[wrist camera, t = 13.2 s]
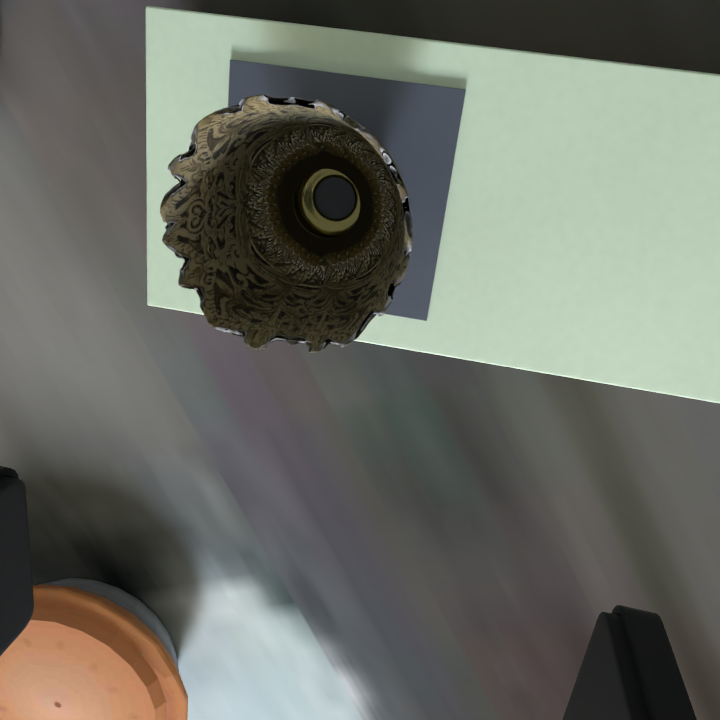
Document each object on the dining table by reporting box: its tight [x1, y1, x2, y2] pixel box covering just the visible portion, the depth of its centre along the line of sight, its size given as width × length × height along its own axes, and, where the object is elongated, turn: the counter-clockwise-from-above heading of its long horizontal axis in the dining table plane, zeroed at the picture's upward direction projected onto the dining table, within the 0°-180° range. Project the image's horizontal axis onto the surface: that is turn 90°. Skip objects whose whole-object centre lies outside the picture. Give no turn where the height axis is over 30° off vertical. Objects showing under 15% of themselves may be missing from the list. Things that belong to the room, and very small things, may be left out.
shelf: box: [146, 6, 720, 403], centre depth 28 cm, size 26×12×5 cm, turn 83°
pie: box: [0, 578, 188, 720], centre depth 42 cm, size 16×16×5 cm
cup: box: [160, 94, 413, 353], centre depth 22 cm, size 8×7×8 cm
